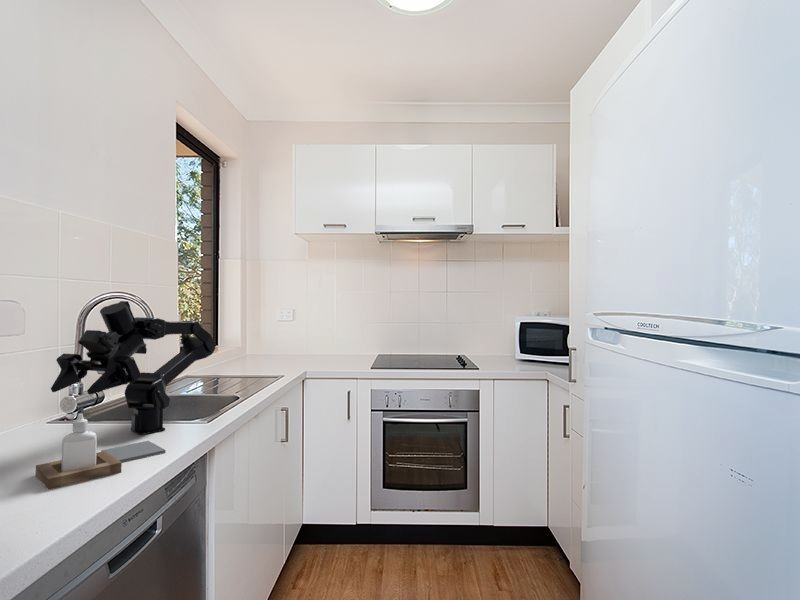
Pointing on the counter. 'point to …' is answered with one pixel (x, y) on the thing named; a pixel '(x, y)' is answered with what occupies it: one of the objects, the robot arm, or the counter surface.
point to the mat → (134, 451)
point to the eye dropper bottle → (79, 447)
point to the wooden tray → (77, 471)
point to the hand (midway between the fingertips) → (70, 391)
